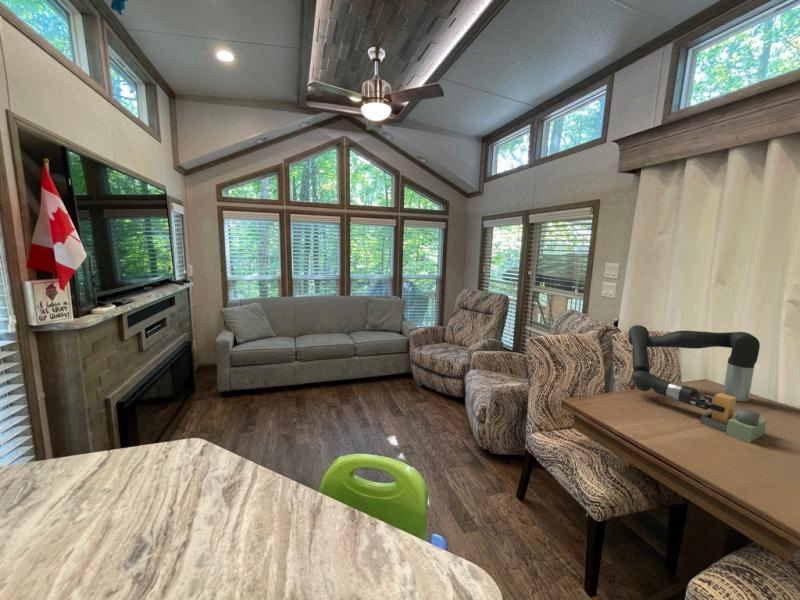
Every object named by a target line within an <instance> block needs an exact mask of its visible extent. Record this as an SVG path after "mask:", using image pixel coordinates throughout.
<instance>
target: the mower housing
mask: <svg viewBox="0 0 800 600" xmlns="http://www.w3.org/2000/svg"><path fill="white" fill-rule="evenodd" d="M760 417H761V414H760V413H758V412H756V411H754V410H751V409H745V408H738V409H737V412H736V415H735V416H733V418H731V419H729V420H728V424H727V430H726V432H725V435H727V436H730V437H732V438H735V439H737V440H741V441H744V442H746V443H749V444H750V443H752V442H753V441H755V440H757V439H758V438H760V437H761V436H763V435H765V431H766V427H767V426H766V425H767V419H764V418H762V417H761V418H760Z"/></svg>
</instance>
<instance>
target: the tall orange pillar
mask: <svg viewBox="0 0 800 600" xmlns="http://www.w3.org/2000/svg"><path fill="white" fill-rule="evenodd" d="M714 395H715V397H714V403H713V404H715V405H718V406H721V407H724V408H725V411H724V412H723V413H721V412H718V411H715V410H712V409H711V411H712V416H711V419H714V420H716V421H719V422H722V423H725V424H728V420H729V419H731V418H733V417H734V415H735V414H734V413H735V407H736V402H737V401H736V397H733V396H730V395H726V394H723V392H719V393H717V394H714Z"/></svg>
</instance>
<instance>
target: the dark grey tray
mask: <svg viewBox="0 0 800 600" xmlns="http://www.w3.org/2000/svg"><path fill="white" fill-rule="evenodd" d="M711 416H712V410H711V411H709V412H707V413H705V414H703V415H701V416H700V424H703V425H706V426H708V427H711V428H713V427H714V428H713V429H716V428H717V430H719V429H720V430H719V431H722V432H724V431H725V432H724V433H726V430H727V424H725V423H722V422H719V421H716V420H714V419H711Z"/></svg>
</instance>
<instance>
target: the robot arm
mask: <svg viewBox="0 0 800 600" xmlns="http://www.w3.org/2000/svg"><path fill="white" fill-rule="evenodd" d="M628 343H629V345H630V346H632V355H631V356H632V370H633V372H632V376H631V377H632V381H633V383H634V386H635V387H636V388H637V390H639V391H641V392H647V391H650V390H651V389H652V390H653V391H654V392H655V393H657V394H658V395H661V396H665V397H668V398H670V399H672V400H675V401H678V402H680V403H684V404H687V405H689V406H694V407H697V408H699V409H702V410H704V411H705V410H706V411H707V410H711V411H712V410H715V411H718V412H721V413H723V412H724V411H725V408H724V407H721V406H718V405H715V404H713V403H714V397H715V395H716V394H711V393H708V392H704V393H703V394H701V393H699V391H698V389H697V388H693V387H690V386H688V385H684V384H680V383H676V382H673V381H669V380H664V379H662V378H660V377H658V376H656V375H654V374H652V373H651V371H650V361H649V360H650V359H649V354H648V348H678V349H679V348H680V349H697V350H698V349H707V348H716V347H717V348H719V347H720V348H728V349H731V352H730V356H729V357H728V359H727V365H726V371H725V372H726V373H725V377H724V382H723V383H724V385H723V389H722V393H723V394H726V395H730V396H733V397H736V402H742V403H746V402H747V403H748V402H749V399H750V394H751V389H752V388H751V387H752V382H753V376H754V370H755V367H756V366H755V365H756V363H757V362H758V357H759V353H760V348H761V347H760V346H761V343H760V341H759V339H758V338H757V337H756V336H754V335H753V334H752V333H749V332H746V331H731V332H712V331H711V332H710V331H702V330H676V331H672V332H668V333H665V334H663V335H655V336H654V335H653V336H652V335H650V333H649V330H648V328H647V327H646V326H644V325H641V324H640V325H639V324H636V325H633V326H631V327H630V328H629V330H628Z"/></svg>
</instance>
